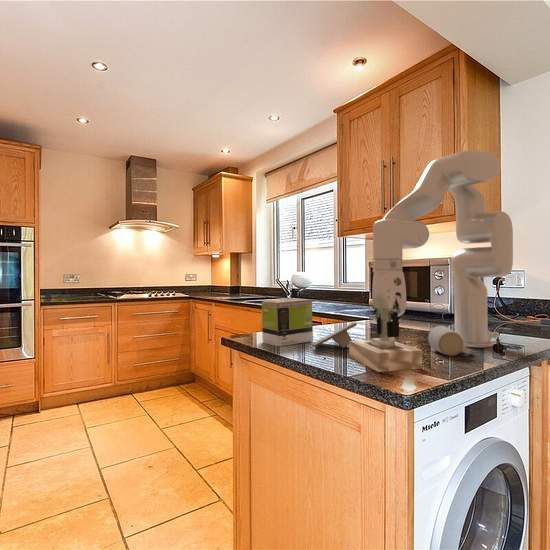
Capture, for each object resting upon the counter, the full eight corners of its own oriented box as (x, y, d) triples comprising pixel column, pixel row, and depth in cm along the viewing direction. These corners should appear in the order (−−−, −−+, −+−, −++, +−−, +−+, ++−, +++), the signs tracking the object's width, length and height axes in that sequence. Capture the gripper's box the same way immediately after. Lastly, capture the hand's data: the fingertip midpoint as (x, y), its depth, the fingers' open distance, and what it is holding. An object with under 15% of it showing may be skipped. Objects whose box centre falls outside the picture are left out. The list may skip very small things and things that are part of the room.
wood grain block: (385, 343, 99) (385, 306, 99) (394, 346, 94) (394, 308, 94) (371, 344, 98) (371, 307, 98) (379, 347, 93) (379, 308, 93)
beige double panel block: (332, 368, 106) (370, 334, 106) (312, 345, 108) (350, 311, 108) (330, 363, 122) (363, 333, 122) (312, 343, 124) (345, 314, 124)
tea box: (295, 337, 134) (295, 297, 133) (313, 342, 125) (313, 299, 125) (261, 342, 125) (261, 299, 125) (277, 347, 117) (277, 301, 117)
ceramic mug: (439, 357, 102) (439, 329, 102) (427, 350, 110) (427, 325, 110) (477, 357, 101) (477, 330, 101) (462, 351, 110) (463, 325, 110)
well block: (387, 354, 105) (387, 339, 105) (422, 368, 90) (422, 350, 90) (349, 357, 102) (349, 341, 102) (378, 371, 87) (378, 353, 87)
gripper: (419, 266, 89) (419, 340, 89) (383, 267, 105) (383, 330, 105) (392, 265, 87) (392, 341, 87) (359, 267, 104) (360, 331, 104)
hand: (387, 334), depth 96 cm, fingers closed on wood grain block, 4 cm apart
